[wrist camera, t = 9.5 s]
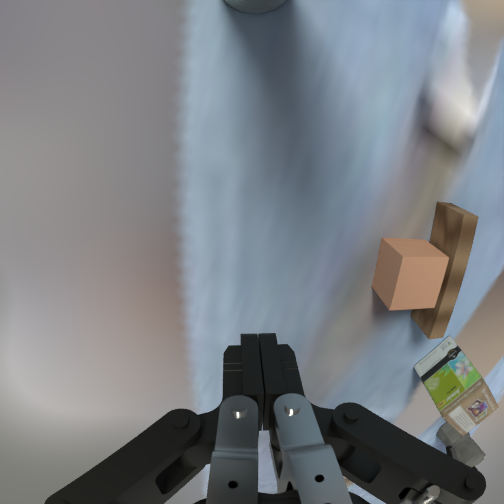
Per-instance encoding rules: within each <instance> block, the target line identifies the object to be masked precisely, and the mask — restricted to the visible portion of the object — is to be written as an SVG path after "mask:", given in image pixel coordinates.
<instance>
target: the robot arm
mask: <svg viewBox="0 0 504 504" xmlns="http://www.w3.org/2000/svg"><path fill="white" fill-rule="evenodd" d="M224 1H225V2H226V3H227V4H228V5H230V6H231V7H233V8H235V9H237V10H239V11H242V12H245V13H253V14H255V13H265V12H269V11H272V10H275V9H277V8H278V7H280V6H281V5H282V4H283V3H284V2H285V1H286V0H224ZM262 424H263V430H269V433H270V443H269V447H270V452H271V457H272V461H273V466H274V471H275V475H276V480H277V491H278V494H267V493H260V492H258V437H259V431H261V430H262ZM210 463H211V466H210V474H209V482H208V490H207V498H205V499H202V500H200V501H198V502H196V503H194V504H370V503H369V502H367V501H366V500H364V499H363V498H361V497H360V496H358V495H356V494H354V493H351V492H349V491H348V489H347V487H346V484H345V481H344V478H343V476H345V477H346V478H347V479H349V480H350V481H352V482H353V483H355V484H356V485H358V486H359V487H361V488H362V489H364V490H366V491H367V492H369V493H370V494H372V495H373V496H375V497H377V498H378V499H380V500H381V501H383V502H385V503H386V504H472V503H473V502H475V501H476V500H477V499H478V498H479V497H480V496H482V495H483V493H484V491H485V488H486V481H485V478H484V476H483V475H482V474H481V473H480V472H479V471H477V470H476V469H474V468H472V467H470V466H468V465H466V464H464V463H462V462H460V461H458V460H456V459H454V458H452V457H450V456H448V455H447V454H445V453H443V452H441V451H439V450H437V449H435V448H434V447H432V446H430V445H428V444H426V443H424V442H423V441H421V440H419V439H417V438H416V437H414V436H412V435H410V434H408V433H407V432H405V431H403V430H402V429H400V428H398V427H396V426H395V425H393V424H391V423H390V422H388V421H386V420H384V419H383V418H381V417H379V416H378V415H376V414H374V413H373V412H371V411H369V410H368V409H366V408H365V407H363V406H361V405H359V404H357V403H351V402H349V403H343V404H340V405H339V406H337V407H336V408H335V410H333V409H327V408H321V407H318V406H315V405H313V404H312V403H310V402H309V400H308V399H307V398H306V397H305V395H304V391H303V387H302V383H301V378H300V374H299V370H298V366H297V362H296V357H295V353H294V351H293V350H292V349H291V348H290V346H289V345H288V344H279V345H278V344H277V339H276V334H275V333H261V334H258V335H257V334H241V345H236V346H228V347H227V349H226V351H225V352H224V359H223V398H222V402H221V404H220V405H219V406H218V407H217V408H216V409H214V410H213V411H210V412H207V413H204V414H199V415H197V414H196V413H194V412H193V411H191V410H188V409H175V410H172V411H170V412H168V413H167V414H166V415H164V416H163V417H162V418H160V419H159V420H158V421H156V422H155V423H154V424H152V425H151V426H150V427H149V428H147V429H146V430H145V431H143V432H142V433H141V434H139V435H138V436H137V437H135V438H134V439H133V440H131V441H130V442H128V443H127V444H126V445H125V446H123V447H122V448H120V449H119V450H117V451H116V452H115V453H113V454H112V455H110V456H109V457H108V458H107V459H105V460H104V461H102V462H101V463H99V464H98V465H96V466H95V467H93V468H92V469H91V470H89V471H88V472H86V473H85V474H83V475H82V476H80V477H79V478H77V479H76V480H75V481H73V482H71V483H70V484H68V485H67V486H65V487H64V488H62V489H61V490H59V491H57V492H56V493H54V494H53V495H51V496H50V497H49V498H48V499H47V500H46V501H45V504H164V503H165V502H166V501H167V500H169V499H170V498H171V497H172V496H173V495H174V494H175V493H177V492H178V491H179V490H180V489H181V488H182V487H183V486H185V485H186V484H187V483H188V482H189V481H190V480H191V479H192V478H193V477H194V476H195V475H196V474H198V473H199V472H200V471H201V470H202V469H203V468H204V467H205V465H206V464H210Z"/></svg>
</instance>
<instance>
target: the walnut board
mask: <svg viewBox="0 0 504 504" xmlns="http://www.w3.org/2000/svg"><path fill="white" fill-rule="evenodd" d="M477 221H478V216H476V215H474V214H472V213H470V212H468V211H466V210H464V209H462V208H460V207H458V206H456V205H454V204H452V203H444V202H437V206H436V212H435V217H434V223H433V228H432V233H431V238H430V244H432V245H433V246H434V247H436V248H437V249H438V250H440V251H441V252H443V253H444V254H445V255H447V256H448V257H449V260H448V264H447V268H446V271H445V275H444V279H443V282H442V285H441V289H440V292H439V295H438V298H437V301H436V305H435V308H423V309H412V313H411V317H412V318H413V320H414V321H415V322H416V323H417V325H418V326H419V327H420V328H421V330H422V331H423V332H424V334H425V335H426V336H427V338H428V339H435V338H442V337H443V336H444V334H445V331H446V328H447V326H448V323H449V320H450V317H451V315H452V312H453V309H454V306H455V303H456V300H457V297H458V294H459V290H460V287H461V284H462V281H463V277H464V274H465V270H466V267H467V263H468V259H469V255H470V252H471V248H472V243H473V239H474V235H475V230H476V226H477Z"/></svg>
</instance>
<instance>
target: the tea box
mask: <svg viewBox="0 0 504 504" xmlns="http://www.w3.org/2000/svg"><path fill="white" fill-rule="evenodd" d="M414 369H415V370H416V372H417V374H418V375H419V377H420V379H421V380H422V382H423V384H424V386H425V387H426V389H427V391H428V392H429V394H430V396H431V397H432V399H433V401H434V403H435V405H436V407H437V408H438V410H439V412H440V414H441V415H442V417H443V419H445V421H447V422H448V423H449V424H450V425H451V426H452V427H453V428H454V429H455V430H456V431H457V432H458V433H460V434H461V435H462V436H464V435H465V434H467V433H468V432H469V431H470V430H472V429H473V428H474V427H475V426H477V425H478V424H479V423H480V422H482V421H483V420H484V419H485V418H486V417H488V416H489V415H490V414H491V413H492V412H493V411H495V410H496V409H497V408H498V405H497V403H496V401H495V399H494V397H493V395H492V393H491V391H490V389H489V388H488V386H487V384H486V382H485V381H484V379H483V378H482V376H481V375H480V374H479V372H478V371H477V370H476V369H475V367H474V366H473V364H472V363H471V362H470V361H469V359H468V358H467V357H466V355H465V354H464V353H463V351H462V350H461V349H460V348H459V346H458V345H457V344H456V343H455V341H454V340H453V339H452V338H451V336H449V337H448V338H446V339H445V340H444V341H443V342H442V343H440V344H439V345H438V346H437V347H436V348H435V349H434V350H432V351H431V352H430V353H429V354H428V355H427V356H425V357H424V358H423V359H422V360H421V361H420V362H418V363H417V364H416V365H415V366H414Z"/></svg>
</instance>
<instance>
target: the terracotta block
mask: <svg viewBox="0 0 504 504" xmlns="http://www.w3.org/2000/svg"><path fill="white" fill-rule="evenodd" d="M448 260H449V257H448V256H447V255H445V254H444V253H443V252H441V251H440V250H438V249H437V248H436V247H434V246H433V245H432V244H430V243H429V242H428V241H426V240H416V239H395V238H382V240H381V245H380V250H379V256H378V261H377V265H376V270H375V275H374V280H373V284H372V288H373V289H374V290H375V292H376V293H377V294H378V296H379V297H380V298H381V300H382V301H383V302H384V304H385V305H386V306H387V308H388V309H389V310H407V309H423V308H435V305H436V301H437V298H438V295H439V292H440V289H441V285H442V282H443V279H444V275H445V271H446V268H447V264H448Z"/></svg>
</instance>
